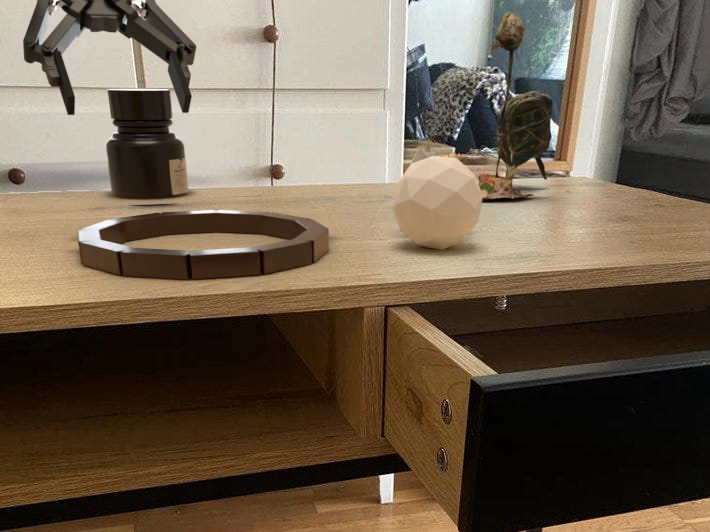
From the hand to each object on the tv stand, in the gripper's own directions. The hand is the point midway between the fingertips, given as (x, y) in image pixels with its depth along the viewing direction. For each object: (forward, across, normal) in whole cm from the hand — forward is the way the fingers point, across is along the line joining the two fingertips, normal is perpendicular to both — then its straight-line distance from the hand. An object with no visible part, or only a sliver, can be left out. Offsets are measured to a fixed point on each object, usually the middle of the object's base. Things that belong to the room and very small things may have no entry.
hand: (131, 105), depth 90 cm
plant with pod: (+22, +41, -7) cm, 47 cm away
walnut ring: (+32, -4, -17) cm, 36 cm away
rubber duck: (+27, +23, -12) cm, 38 cm away
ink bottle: (+11, 0, +4) cm, 11 cm away
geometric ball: (+37, +16, -22) cm, 46 cm away
